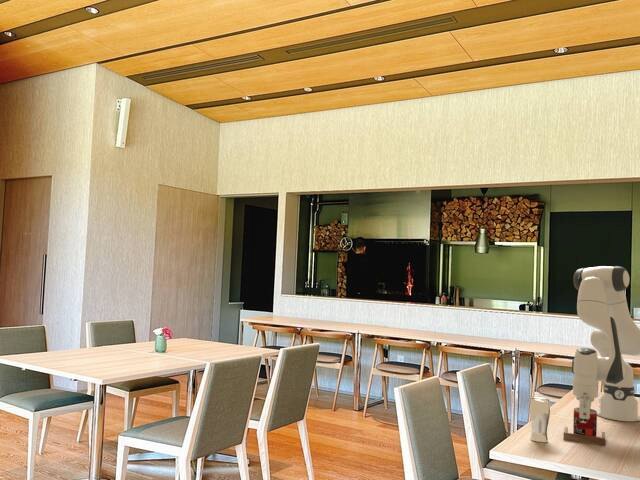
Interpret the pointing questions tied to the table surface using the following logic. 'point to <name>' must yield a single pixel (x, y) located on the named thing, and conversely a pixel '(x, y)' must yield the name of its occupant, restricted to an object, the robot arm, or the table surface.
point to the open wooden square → (584, 438)
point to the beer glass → (539, 418)
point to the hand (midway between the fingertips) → (584, 427)
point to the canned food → (585, 423)
